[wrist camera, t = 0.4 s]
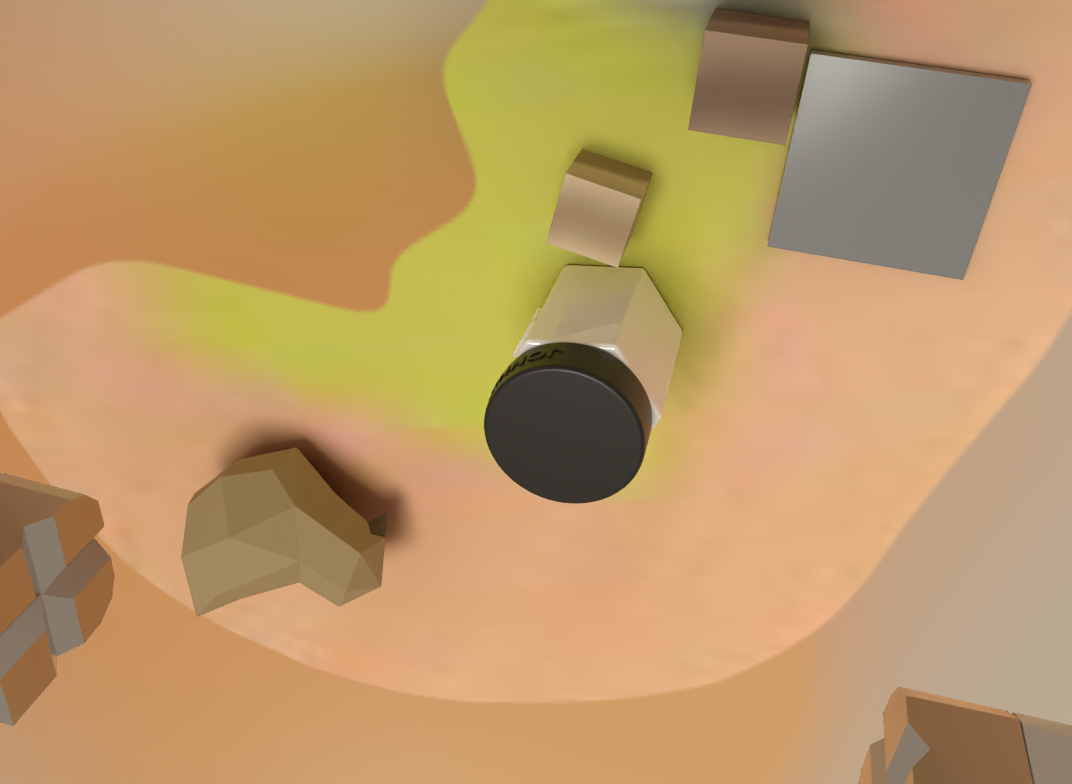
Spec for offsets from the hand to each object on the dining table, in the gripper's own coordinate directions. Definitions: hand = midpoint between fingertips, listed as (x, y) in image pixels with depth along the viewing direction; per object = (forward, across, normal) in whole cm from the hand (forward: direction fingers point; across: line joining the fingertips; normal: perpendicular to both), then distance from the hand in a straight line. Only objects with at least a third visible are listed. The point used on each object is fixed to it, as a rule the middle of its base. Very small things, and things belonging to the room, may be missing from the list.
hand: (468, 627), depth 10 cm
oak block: (+44, +5, +12) cm, 46 cm away
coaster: (+44, -9, +9) cm, 46 cm away
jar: (+44, +4, +21) cm, 49 cm away
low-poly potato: (+44, +23, +38) cm, 63 cm away
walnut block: (+44, -1, +4) cm, 45 cm away
